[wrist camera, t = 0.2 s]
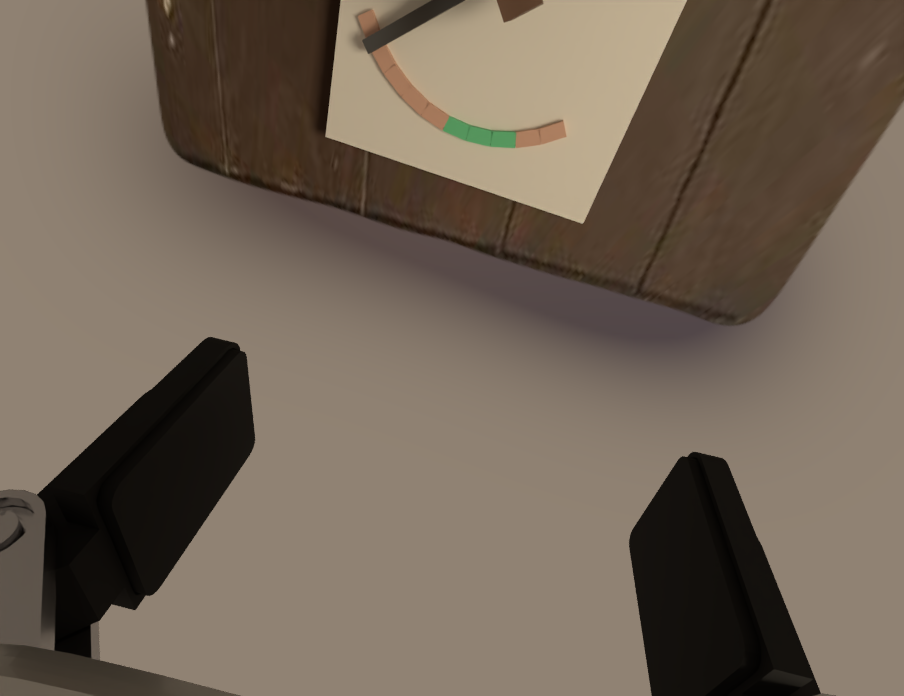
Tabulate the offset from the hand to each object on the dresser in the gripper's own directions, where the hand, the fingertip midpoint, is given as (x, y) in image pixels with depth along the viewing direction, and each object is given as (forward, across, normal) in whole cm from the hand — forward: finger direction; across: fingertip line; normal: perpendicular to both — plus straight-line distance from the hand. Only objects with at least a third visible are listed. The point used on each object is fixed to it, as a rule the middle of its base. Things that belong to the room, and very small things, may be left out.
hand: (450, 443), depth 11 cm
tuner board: (+30, +3, -6) cm, 31 cm away
